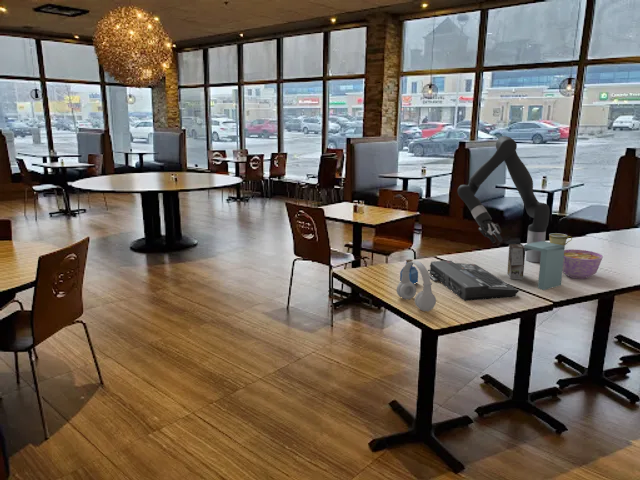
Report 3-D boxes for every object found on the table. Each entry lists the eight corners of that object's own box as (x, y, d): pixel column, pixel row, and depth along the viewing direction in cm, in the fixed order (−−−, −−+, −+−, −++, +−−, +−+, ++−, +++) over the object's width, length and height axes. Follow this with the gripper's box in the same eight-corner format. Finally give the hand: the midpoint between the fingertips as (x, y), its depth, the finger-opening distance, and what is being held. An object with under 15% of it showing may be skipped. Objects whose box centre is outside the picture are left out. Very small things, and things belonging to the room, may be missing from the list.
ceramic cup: (550, 252, 289) (551, 236, 287) (545, 248, 299) (547, 233, 297) (573, 253, 287) (575, 237, 285) (568, 249, 297) (569, 233, 295)
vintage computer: (520, 297, 217) (521, 280, 215) (460, 303, 213) (460, 286, 211) (475, 271, 258) (476, 257, 257) (424, 276, 254) (424, 262, 252)
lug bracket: (538, 278, 242) (542, 241, 237) (561, 285, 232) (564, 245, 227) (521, 283, 235) (524, 244, 231) (543, 290, 225) (547, 249, 221)
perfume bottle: (407, 281, 243) (407, 258, 240) (417, 283, 239) (418, 260, 236) (400, 283, 239) (400, 260, 236) (410, 286, 235) (410, 262, 232)
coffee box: (523, 279, 241) (526, 248, 238) (509, 279, 243) (512, 247, 239) (520, 274, 250) (522, 244, 246) (506, 273, 251) (508, 243, 248)
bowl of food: (550, 277, 244) (552, 255, 241) (563, 268, 258) (565, 247, 256) (594, 285, 231) (596, 261, 228) (605, 275, 245) (607, 253, 242)
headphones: (436, 310, 204) (438, 266, 199) (419, 313, 201) (420, 269, 196) (411, 295, 222) (412, 255, 218) (395, 298, 219) (396, 257, 215)
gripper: (475, 212, 254) (492, 239, 246) (494, 210, 261) (511, 235, 253) (467, 221, 260) (484, 247, 252) (486, 218, 266) (502, 243, 259)
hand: (497, 241), depth 253 cm, fingers open, 4 cm apart
